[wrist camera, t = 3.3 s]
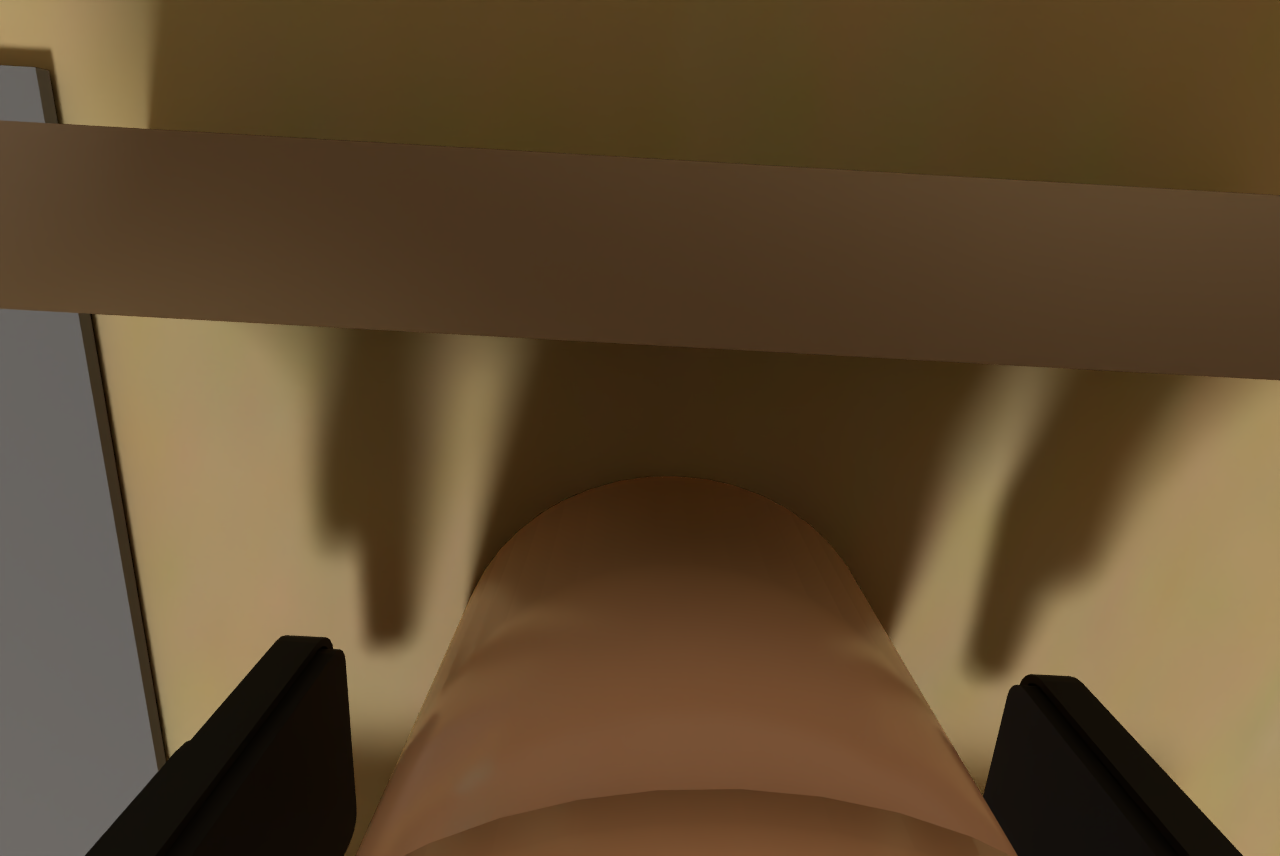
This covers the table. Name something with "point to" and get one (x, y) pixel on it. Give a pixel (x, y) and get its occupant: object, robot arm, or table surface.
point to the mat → (64, 580)
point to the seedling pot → (675, 699)
